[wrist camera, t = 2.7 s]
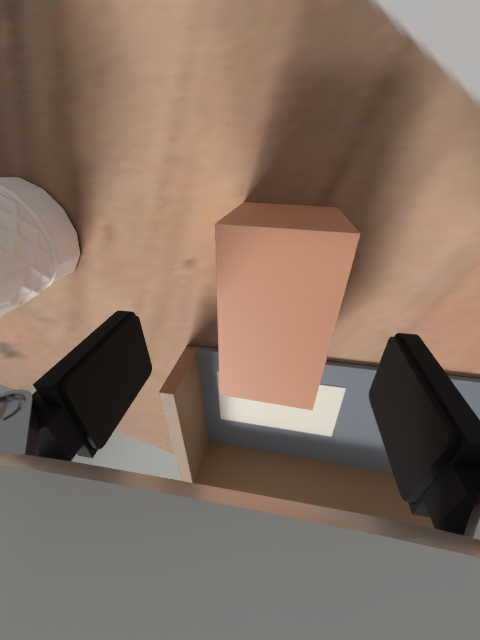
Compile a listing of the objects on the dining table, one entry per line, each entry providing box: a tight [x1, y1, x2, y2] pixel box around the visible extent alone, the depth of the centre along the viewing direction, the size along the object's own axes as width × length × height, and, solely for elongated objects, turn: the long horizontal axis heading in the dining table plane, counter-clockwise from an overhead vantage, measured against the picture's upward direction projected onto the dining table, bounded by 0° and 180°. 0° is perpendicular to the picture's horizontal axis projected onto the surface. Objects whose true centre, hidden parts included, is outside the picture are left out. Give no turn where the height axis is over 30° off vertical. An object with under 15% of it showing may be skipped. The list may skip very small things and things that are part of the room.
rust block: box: [215, 202, 360, 411], centre depth 14 cm, size 5×9×6 cm, turn 178°
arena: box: [159, 345, 480, 529], centre depth 20 cm, size 22×13×5 cm, turn 90°
